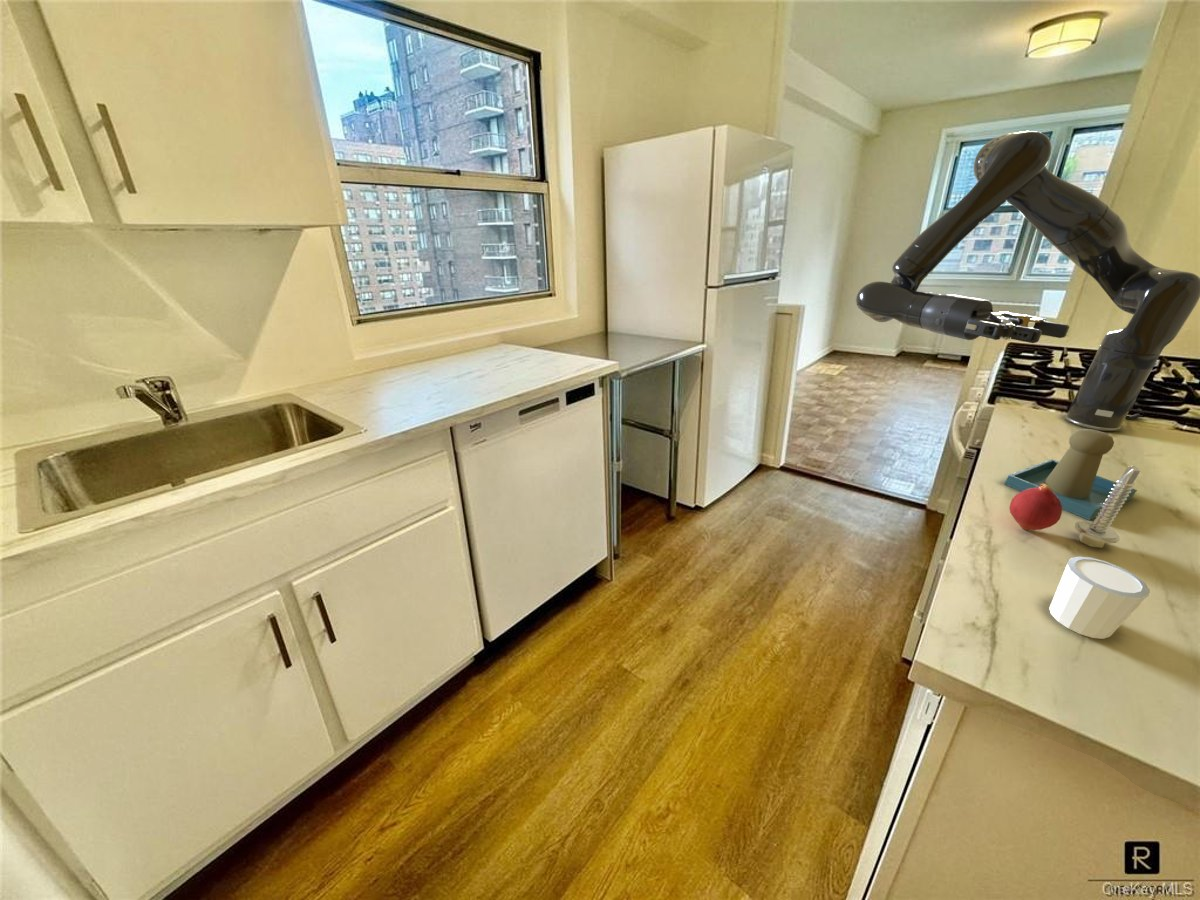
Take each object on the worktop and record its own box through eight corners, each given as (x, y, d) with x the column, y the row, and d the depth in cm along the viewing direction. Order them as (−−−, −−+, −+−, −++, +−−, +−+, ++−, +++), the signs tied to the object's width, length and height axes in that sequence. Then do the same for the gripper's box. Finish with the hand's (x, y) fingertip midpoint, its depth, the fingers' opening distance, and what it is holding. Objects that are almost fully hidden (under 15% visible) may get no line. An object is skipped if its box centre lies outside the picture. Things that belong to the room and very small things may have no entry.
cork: (1098, 500, 81) (1131, 441, 76) (1056, 496, 82) (1087, 438, 77) (1074, 482, 86) (1104, 426, 81) (1036, 478, 87) (1063, 423, 82)
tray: (1046, 467, 92) (1051, 458, 91) (1131, 499, 82) (1137, 489, 81) (1004, 484, 86) (1008, 475, 85) (1089, 520, 76) (1095, 510, 75)
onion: (1039, 522, 76) (1062, 478, 72) (1057, 544, 71) (1082, 498, 67) (996, 515, 77) (1016, 472, 74) (1010, 536, 73) (1032, 490, 69)
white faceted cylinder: (1028, 600, 61) (1052, 557, 57) (1078, 597, 61) (1104, 554, 58) (1080, 645, 55) (1111, 599, 51) (1135, 641, 55) (1169, 595, 52)
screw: (1102, 556, 68) (1061, 537, 72) (1119, 547, 70) (1079, 529, 74) (1150, 477, 62) (1103, 461, 66) (1168, 470, 64) (1121, 454, 68)
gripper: (938, 299, 90) (1039, 315, 77) (983, 293, 95) (1085, 308, 82) (925, 338, 93) (1020, 361, 80) (969, 331, 99) (1065, 351, 86)
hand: (1053, 334), depth 81 cm, fingers open, 8 cm apart
